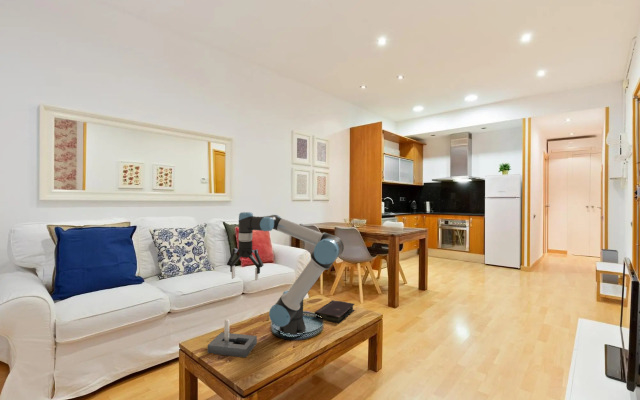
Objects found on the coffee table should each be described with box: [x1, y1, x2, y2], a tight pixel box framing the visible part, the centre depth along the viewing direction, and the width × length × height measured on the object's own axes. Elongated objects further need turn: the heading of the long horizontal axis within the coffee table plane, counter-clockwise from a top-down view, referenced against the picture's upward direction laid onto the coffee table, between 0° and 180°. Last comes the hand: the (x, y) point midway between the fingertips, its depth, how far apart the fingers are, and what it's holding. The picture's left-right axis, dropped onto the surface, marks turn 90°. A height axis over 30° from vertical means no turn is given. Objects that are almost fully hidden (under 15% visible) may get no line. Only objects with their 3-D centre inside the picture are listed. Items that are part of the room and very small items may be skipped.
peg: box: [223, 319, 230, 342], centre depth 156 cm, size 5×5×14 cm
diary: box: [314, 299, 355, 324], centre depth 202 cm, size 19×25×5 cm
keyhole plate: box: [207, 331, 258, 359], centre depth 155 cm, size 20×14×4 cm
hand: (244, 278), depth 168 cm, fingers open, 13 cm apart
